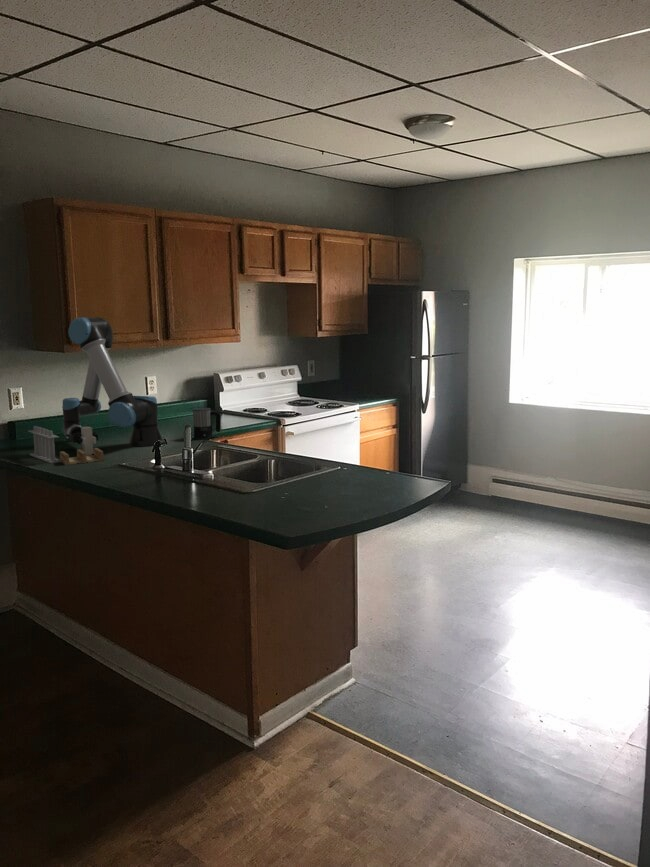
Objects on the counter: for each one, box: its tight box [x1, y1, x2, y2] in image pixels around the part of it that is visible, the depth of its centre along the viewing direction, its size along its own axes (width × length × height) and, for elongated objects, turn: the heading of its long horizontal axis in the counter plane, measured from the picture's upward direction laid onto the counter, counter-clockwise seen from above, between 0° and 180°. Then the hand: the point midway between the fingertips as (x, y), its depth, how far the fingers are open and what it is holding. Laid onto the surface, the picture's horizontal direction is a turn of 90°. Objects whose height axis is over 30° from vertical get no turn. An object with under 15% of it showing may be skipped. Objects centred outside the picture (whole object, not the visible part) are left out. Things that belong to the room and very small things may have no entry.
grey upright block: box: [81, 426, 94, 456], centre depth 318 cm, size 4×5×12 cm
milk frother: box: [191, 407, 221, 440], centre depth 363 cm, size 14×16×15 cm
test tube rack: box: [27, 425, 62, 464], centre depth 309 cm, size 25×4×13 cm, turn 41°
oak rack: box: [59, 447, 105, 466], centre depth 304 cm, size 16×10×4 cm, turn 122°
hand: (90, 441), depth 314 cm, fingers closed on grey upright block, 3 cm apart
